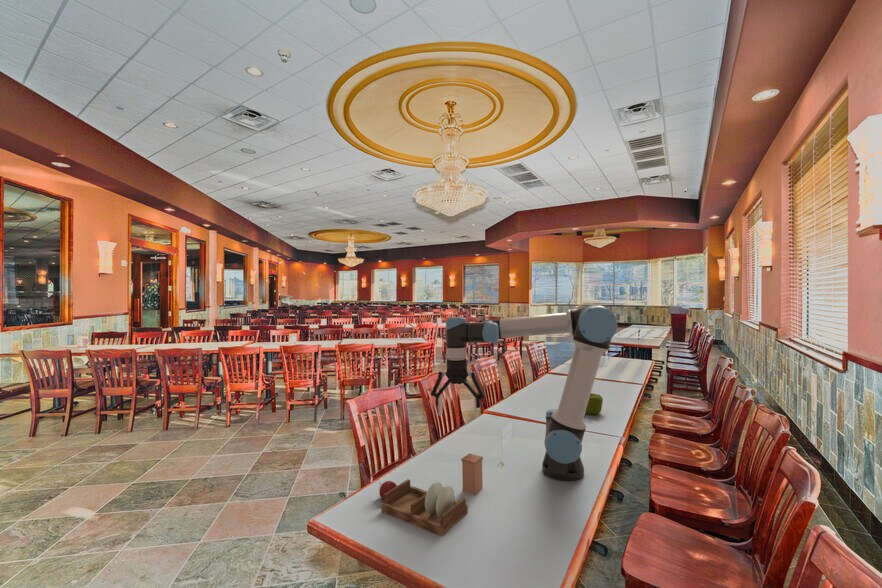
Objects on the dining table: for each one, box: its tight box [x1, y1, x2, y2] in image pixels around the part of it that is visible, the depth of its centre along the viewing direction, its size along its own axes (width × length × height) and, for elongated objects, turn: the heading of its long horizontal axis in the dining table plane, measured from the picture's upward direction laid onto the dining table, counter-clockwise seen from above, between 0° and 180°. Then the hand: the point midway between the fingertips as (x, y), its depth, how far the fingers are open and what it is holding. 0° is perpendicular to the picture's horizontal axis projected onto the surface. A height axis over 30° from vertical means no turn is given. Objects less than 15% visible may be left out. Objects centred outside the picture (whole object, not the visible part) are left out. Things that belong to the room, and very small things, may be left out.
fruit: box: [376, 478, 398, 501], centre depth 130 cm, size 6×6×8 cm
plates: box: [425, 481, 455, 518], centre depth 117 cm, size 5×9×9 cm, turn 145°
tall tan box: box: [460, 453, 484, 495], centre depth 134 cm, size 5×5×11 cm
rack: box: [381, 478, 469, 537], centre depth 120 cm, size 23×14×5 cm, turn 55°
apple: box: [585, 392, 604, 416], centre depth 218 cm, size 12×12×11 cm
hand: (458, 415), depth 144 cm, fingers open, 13 cm apart
